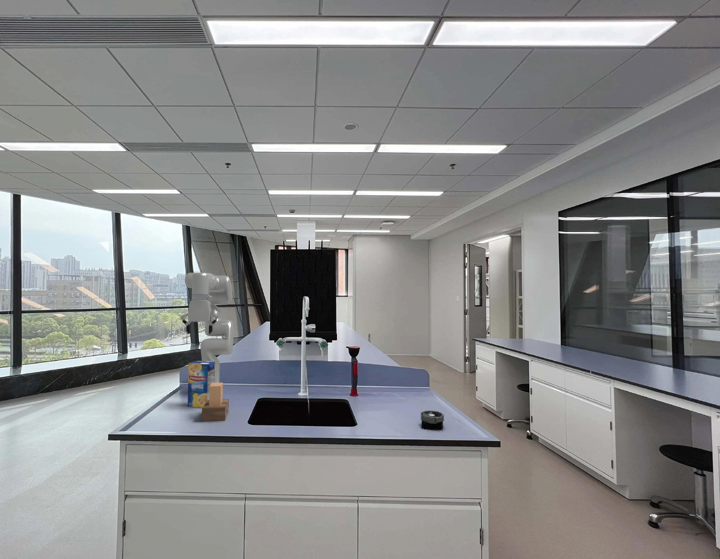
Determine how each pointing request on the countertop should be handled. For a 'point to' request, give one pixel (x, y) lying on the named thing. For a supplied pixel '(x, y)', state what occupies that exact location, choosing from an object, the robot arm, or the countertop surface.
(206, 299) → the robot arm
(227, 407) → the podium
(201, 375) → the blue tall cardboard box
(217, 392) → the carton
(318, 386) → the countertop surface
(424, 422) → the cpu cooler
